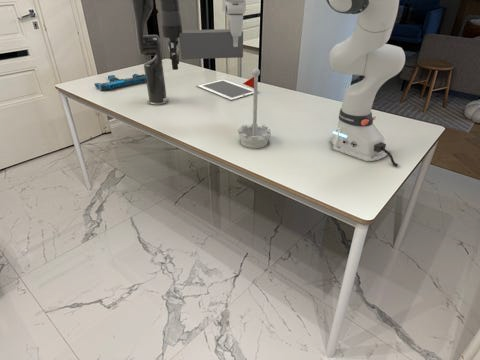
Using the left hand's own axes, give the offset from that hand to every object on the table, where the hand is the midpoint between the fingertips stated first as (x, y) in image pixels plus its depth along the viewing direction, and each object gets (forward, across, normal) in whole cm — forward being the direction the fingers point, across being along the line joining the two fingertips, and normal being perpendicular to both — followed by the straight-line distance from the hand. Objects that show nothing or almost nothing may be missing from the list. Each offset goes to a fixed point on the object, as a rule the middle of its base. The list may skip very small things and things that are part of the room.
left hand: (175, 66), depth 138 cm
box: (-4, 0, +15) cm, 15 cm away
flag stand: (+27, +18, +30) cm, 44 cm away
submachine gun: (+27, -72, -39) cm, 86 cm away
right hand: (-8, 0, +24) cm, 25 cm away
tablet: (+27, -51, +24) cm, 63 cm away
